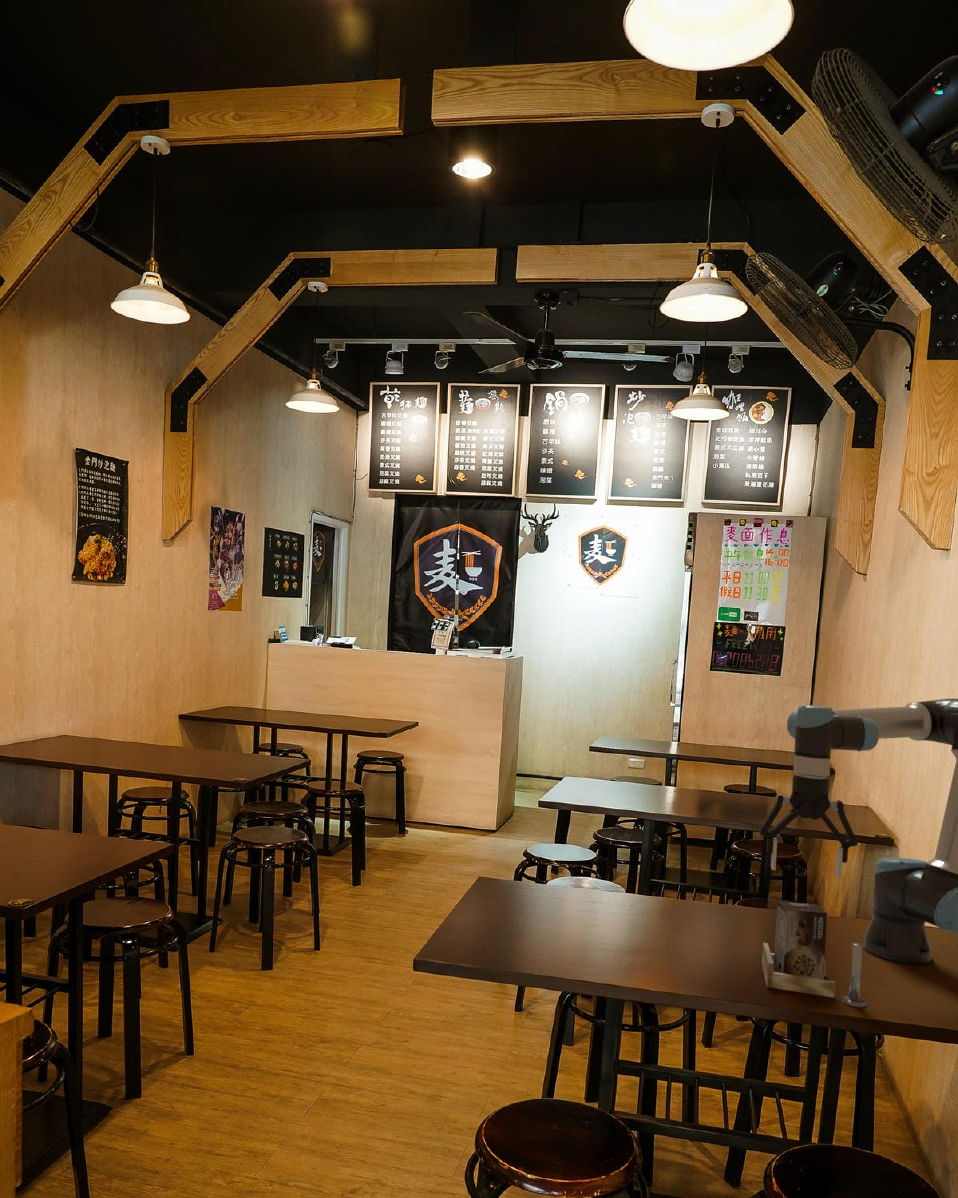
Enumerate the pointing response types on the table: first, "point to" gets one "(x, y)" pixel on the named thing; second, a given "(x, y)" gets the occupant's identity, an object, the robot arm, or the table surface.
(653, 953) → the table surface
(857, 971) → the post
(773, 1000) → the table surface
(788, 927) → the coffee box
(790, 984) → the bay
